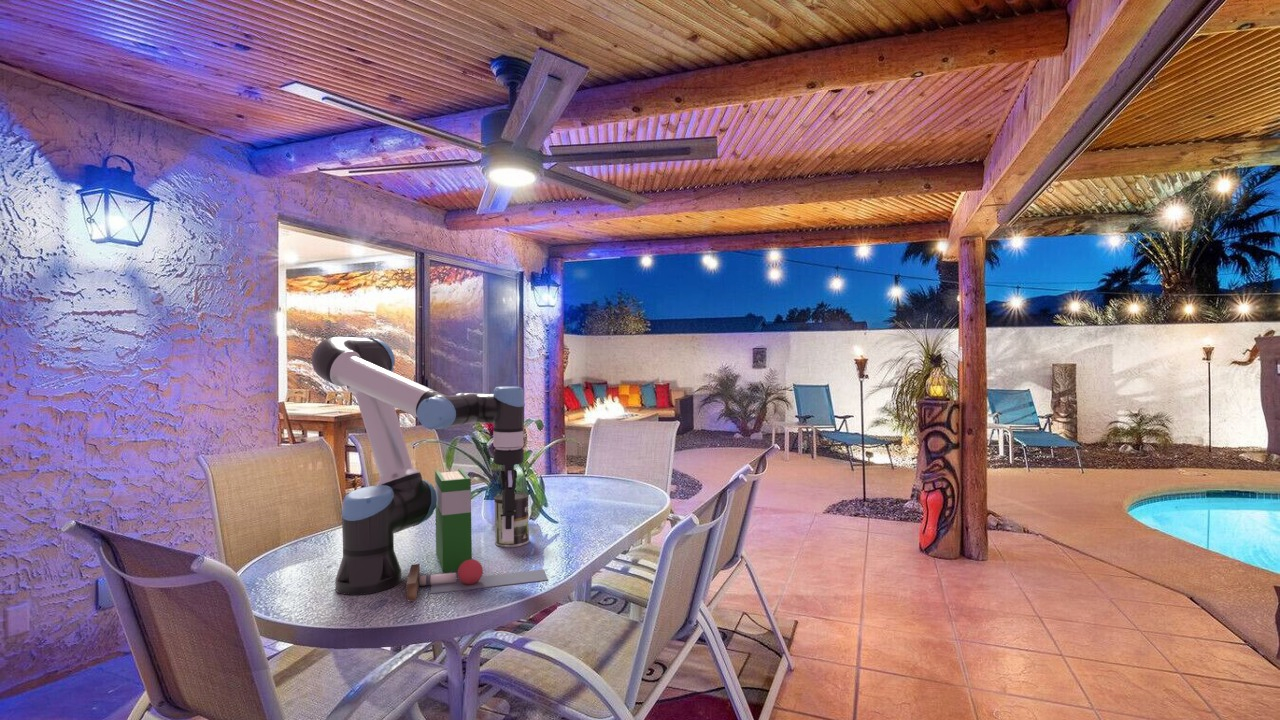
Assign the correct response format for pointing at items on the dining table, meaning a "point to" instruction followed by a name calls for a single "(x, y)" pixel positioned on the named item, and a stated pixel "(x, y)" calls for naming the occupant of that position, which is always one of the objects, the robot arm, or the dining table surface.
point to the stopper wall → (413, 582)
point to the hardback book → (453, 519)
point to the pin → (437, 579)
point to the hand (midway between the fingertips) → (507, 540)
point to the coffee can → (519, 521)
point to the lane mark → (492, 581)
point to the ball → (470, 572)
